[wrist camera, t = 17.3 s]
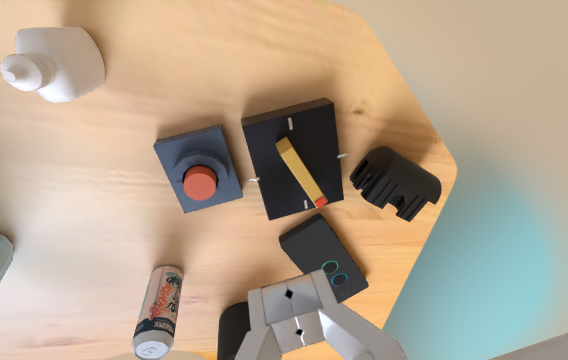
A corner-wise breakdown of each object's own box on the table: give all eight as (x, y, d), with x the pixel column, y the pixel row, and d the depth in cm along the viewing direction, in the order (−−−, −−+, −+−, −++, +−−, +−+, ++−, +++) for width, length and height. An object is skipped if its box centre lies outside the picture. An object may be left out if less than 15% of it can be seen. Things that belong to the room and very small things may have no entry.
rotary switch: (231, 121, 35) (232, 129, 32) (333, 95, 36) (343, 100, 33) (258, 211, 42) (261, 223, 39) (343, 187, 43) (351, 198, 40)
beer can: (189, 277, 45) (180, 352, 35) (163, 290, 45) (146, 368, 35) (172, 258, 43) (157, 333, 32) (144, 271, 43) (120, 349, 33)
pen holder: (261, 333, 56) (269, 389, 47) (212, 333, 53) (211, 393, 44) (273, 300, 52) (284, 355, 43) (222, 298, 49) (222, 357, 40)
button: (180, 170, 33) (178, 178, 31) (210, 162, 33) (210, 169, 32) (191, 195, 35) (190, 204, 33) (220, 187, 35) (220, 195, 33)
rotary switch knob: (274, 143, 34) (280, 156, 31) (286, 136, 34) (293, 147, 31) (309, 194, 38) (317, 209, 35) (319, 188, 38) (328, 203, 35)
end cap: (420, 165, 44) (451, 187, 38) (391, 201, 46) (416, 227, 40) (374, 137, 40) (401, 156, 34) (345, 177, 42) (365, 202, 36)
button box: (155, 140, 34) (149, 151, 31) (220, 124, 35) (220, 133, 32) (186, 206, 39) (183, 221, 36) (242, 191, 40) (244, 204, 37)
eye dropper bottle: (56, 76, 29) (-35, 104, 19) (63, 19, 27) (-35, 15, 17) (103, 93, 31) (44, 127, 20) (114, 40, 29) (53, 48, 18)
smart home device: (332, 308, 53) (277, 245, 43) (329, 300, 55) (275, 238, 45) (371, 286, 52) (324, 217, 42) (366, 279, 54) (320, 211, 44)
